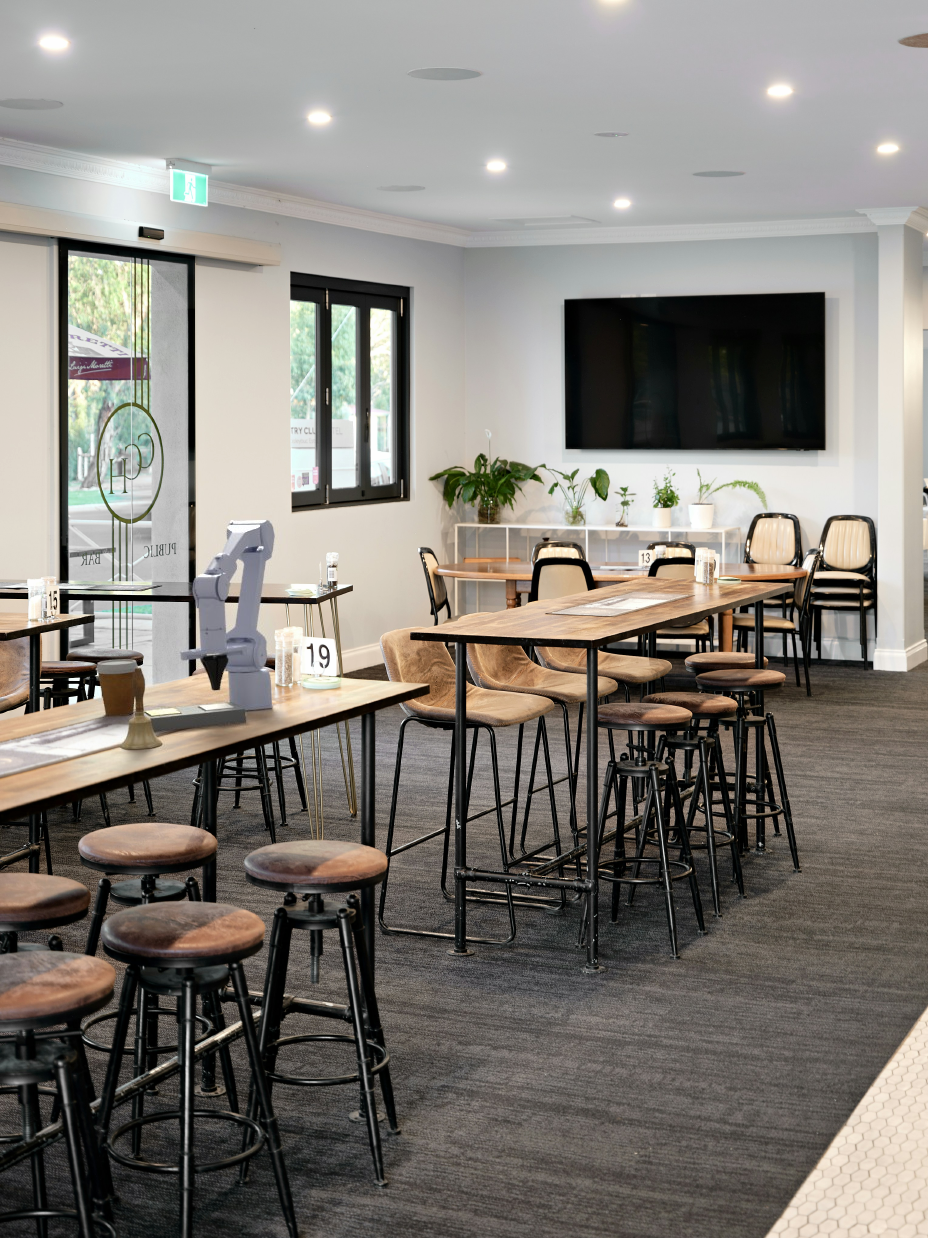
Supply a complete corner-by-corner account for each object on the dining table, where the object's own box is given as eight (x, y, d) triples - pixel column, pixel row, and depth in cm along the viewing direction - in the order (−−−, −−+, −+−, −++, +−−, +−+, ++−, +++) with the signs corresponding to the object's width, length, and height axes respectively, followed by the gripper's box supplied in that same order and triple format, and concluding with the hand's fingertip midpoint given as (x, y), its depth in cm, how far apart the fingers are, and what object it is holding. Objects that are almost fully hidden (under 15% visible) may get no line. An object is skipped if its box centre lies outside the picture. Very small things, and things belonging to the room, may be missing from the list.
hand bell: (123, 742, 304) (119, 666, 302) (164, 741, 305) (160, 664, 303) (117, 750, 296) (113, 672, 294) (159, 748, 297) (155, 670, 295)
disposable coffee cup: (130, 717, 334) (127, 665, 332) (91, 717, 335) (88, 665, 334) (147, 710, 343) (144, 659, 341) (109, 709, 345) (106, 659, 343)
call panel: (232, 714, 333) (231, 701, 333) (246, 722, 323) (245, 708, 323) (135, 724, 324) (134, 711, 324) (146, 732, 314) (145, 718, 314)
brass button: (174, 721, 325) (173, 708, 325) (181, 726, 320) (180, 712, 319) (145, 724, 323) (145, 711, 322) (152, 729, 317) (151, 715, 317)
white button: (227, 716, 330) (226, 703, 330) (234, 720, 325) (234, 707, 324) (199, 719, 328) (198, 705, 327) (206, 723, 322) (206, 710, 322)
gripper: (184, 633, 317) (188, 695, 319) (249, 628, 323) (252, 689, 325) (176, 629, 324) (180, 690, 325) (240, 624, 330) (243, 684, 331)
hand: (215, 689), depth 326 cm, fingers closed
